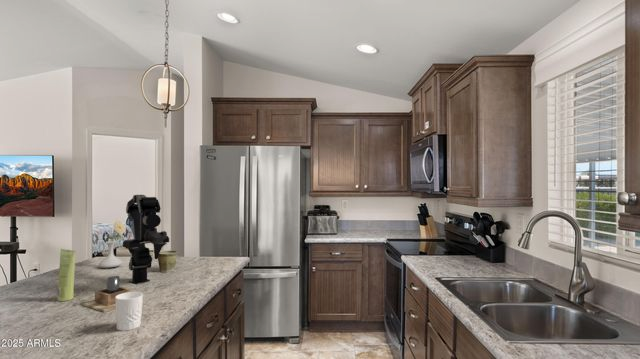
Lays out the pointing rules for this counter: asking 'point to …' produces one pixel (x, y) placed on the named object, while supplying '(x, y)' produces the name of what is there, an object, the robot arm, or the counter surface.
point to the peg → (112, 284)
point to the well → (105, 300)
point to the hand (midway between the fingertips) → (146, 261)
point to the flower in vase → (111, 259)
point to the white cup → (128, 310)
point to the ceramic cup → (167, 260)
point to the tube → (66, 275)
